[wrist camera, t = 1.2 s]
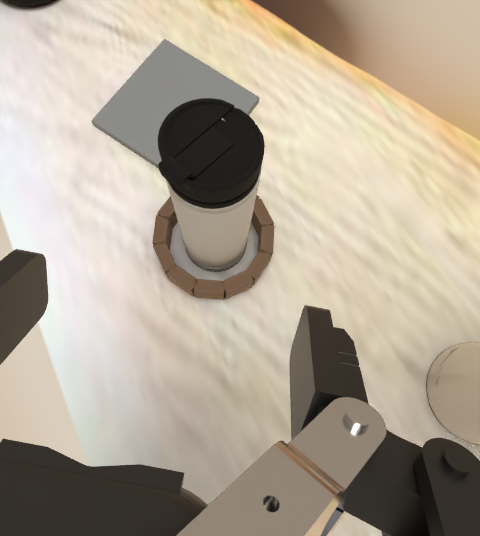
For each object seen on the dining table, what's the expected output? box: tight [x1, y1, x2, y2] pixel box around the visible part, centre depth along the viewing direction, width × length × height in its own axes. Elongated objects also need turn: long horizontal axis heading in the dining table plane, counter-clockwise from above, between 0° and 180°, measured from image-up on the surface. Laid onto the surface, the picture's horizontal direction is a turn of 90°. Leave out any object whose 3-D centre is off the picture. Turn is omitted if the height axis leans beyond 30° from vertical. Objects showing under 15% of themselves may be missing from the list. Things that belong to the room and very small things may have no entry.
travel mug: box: [158, 98, 264, 271], centre depth 33 cm, size 6×7×20 cm
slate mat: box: [92, 39, 259, 168], centre depth 46 cm, size 13×13×1 cm
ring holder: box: [153, 195, 274, 299], centre depth 41 cm, size 11×11×3 cm
